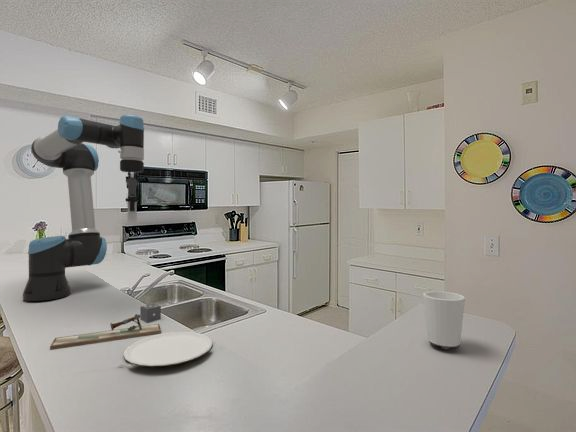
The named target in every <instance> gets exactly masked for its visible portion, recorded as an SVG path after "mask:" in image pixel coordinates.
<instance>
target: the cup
mask: <svg viewBox="0 0 576 432" xmlns="http://www.w3.org/2000/svg"><path fill="white" fill-rule="evenodd" d="M422 299H423V300H422V301H423V307H424V317H425V318H424V319H425V328H426V337H427V340H428V343H429V344H430V346H433V347H436V346H439V347H440V348H441V349H443V350H449V348H452V349H459V348H460V346H461V339H462V332H463V331H462V330H463V320H464V313H465V312H464V310H465V301H466V297H465V296H464V295H462V294H460V293H456V292H452V291H451V292H450V291H442V290H441V291H440V290H439V291H438V290H432V291H426V292H423V293H422Z"/></svg>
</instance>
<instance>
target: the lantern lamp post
mask: <svg viewBox="0 0 576 432" xmlns="http://www.w3.org/2000/svg"><path fill="white" fill-rule="evenodd" d="M140 317H142V315H140V314H136V313H135V314H134V316H132V317H129V318H126V319H124V320H122V321H119V322H115V323H113V322H110V323H109V325H110V329H111V330H112V331H113V330H115V329H116V328H119V327H120V326H123V325H127V324H129V323H131V322H134V323H135V324H137V325H132V326H129V327H127V328H128V330H130V331H131V330H133V329H134V330H135V328H137V327H139V328H140V329H142V328H141V326H142V324H141V321H140Z"/></svg>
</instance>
